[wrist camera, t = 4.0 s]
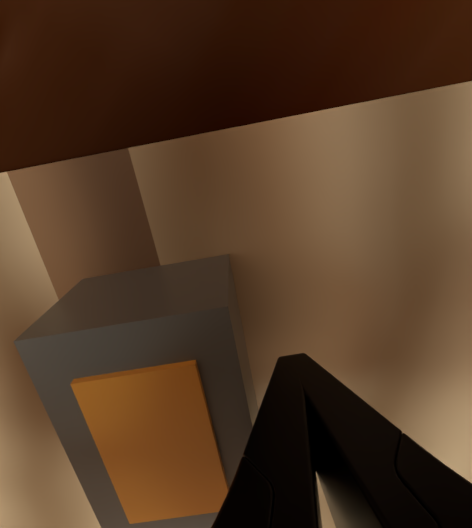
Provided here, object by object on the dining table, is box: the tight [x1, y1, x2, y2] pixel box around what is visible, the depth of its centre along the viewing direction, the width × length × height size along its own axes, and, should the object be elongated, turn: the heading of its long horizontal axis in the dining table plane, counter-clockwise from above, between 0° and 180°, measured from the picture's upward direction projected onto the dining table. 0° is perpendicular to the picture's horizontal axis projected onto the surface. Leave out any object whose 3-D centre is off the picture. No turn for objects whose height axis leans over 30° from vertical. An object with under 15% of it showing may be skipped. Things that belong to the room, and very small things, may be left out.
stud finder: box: [13, 254, 258, 528], centre depth 8 cm, size 4×6×3 cm, turn 10°
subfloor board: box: [0, 81, 472, 528], centre depth 12 cm, size 20×23×1 cm
